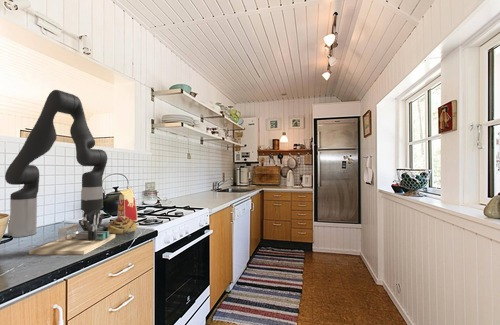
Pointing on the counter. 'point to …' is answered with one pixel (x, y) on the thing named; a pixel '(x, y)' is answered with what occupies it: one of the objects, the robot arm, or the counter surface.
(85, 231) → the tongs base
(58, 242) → the board
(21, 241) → the counter surface
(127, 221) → the pastry
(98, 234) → the tong arm
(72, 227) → the grey l-shaped block
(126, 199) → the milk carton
